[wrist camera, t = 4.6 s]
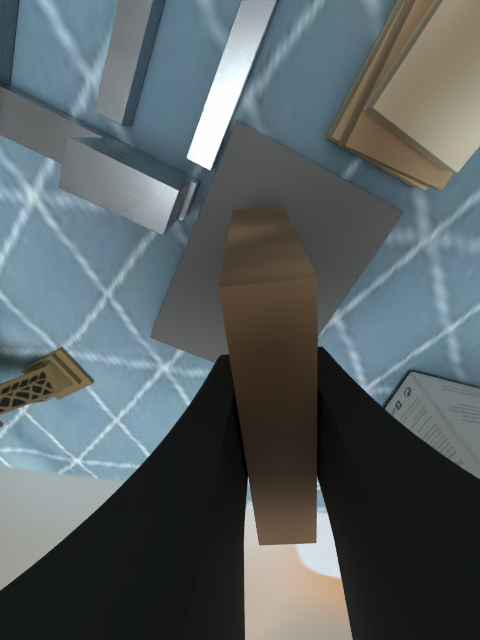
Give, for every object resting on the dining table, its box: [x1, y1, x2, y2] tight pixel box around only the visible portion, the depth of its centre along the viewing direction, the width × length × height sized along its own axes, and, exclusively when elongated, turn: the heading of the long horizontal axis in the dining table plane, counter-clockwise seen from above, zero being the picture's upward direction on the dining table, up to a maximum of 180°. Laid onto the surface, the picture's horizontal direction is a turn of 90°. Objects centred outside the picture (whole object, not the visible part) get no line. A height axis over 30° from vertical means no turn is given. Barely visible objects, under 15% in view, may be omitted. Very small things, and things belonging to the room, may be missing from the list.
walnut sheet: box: [218, 205, 318, 545], centre depth 10 cm, size 2×8×6 cm, turn 6°
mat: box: [150, 120, 404, 363], centre depth 16 cm, size 8×11×1 cm
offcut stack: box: [325, 0, 480, 191], centre depth 11 cm, size 4×7×3 cm, turn 155°
